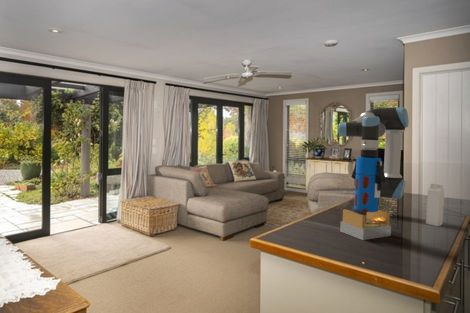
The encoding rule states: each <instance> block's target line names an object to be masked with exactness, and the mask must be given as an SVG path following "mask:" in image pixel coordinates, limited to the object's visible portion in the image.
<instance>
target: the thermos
mask: <svg viewBox="0 0 470 313" xmlns="http://www.w3.org/2000/svg"><path fill="white" fill-rule="evenodd" d="M356 159H357V160H356ZM356 159H355V164H356V179H355V180H354V184H355V185H354V201H353V202H354V203H353V204H354V205H353V206H354V209H355V210H358V211H363V212H378V209H379V207H380V197H379V198H375V197H374V196H375V183H376V180H375V176H374V175H379V174H378V170H377V165H376V164H377V161H382V158H381V157H377V158H365V157H361V156H357V157H356Z"/></svg>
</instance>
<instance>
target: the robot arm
mask: <svg viewBox="0 0 470 313" xmlns="http://www.w3.org/2000/svg"><path fill="white" fill-rule="evenodd" d="M408 113H409V112H408V111H407V108H406V107H398V106H395V107H394V106H393V107H377V108H373V109H370V110H369V109H368V110H366V111H364V112H363V113H361V114H360V115H359V117H357V118H354V119H353V120H350V121H348V122H347V121H343V122H340V123H338V126H337V133H338V134H337V135H339V137H344V138H349V137H350V138H352V137H353V138H354V137H355V138H356V137H357V138H358V137H359V138H361V141H360V142H361V144H360V145H361V146H360V148H361V150H360V157H365V158H379V150H378V149H379V139H380V138H382V137H383V136H384V135H385V139H384V142H385V143H384V161H382V160H381V161H377V164H376V165H377V170H378V174H379V175H374V176H375V180H376V183H375V196H374V197H375V198H379V199H380V198H386V199H392V200H400V199H401V198H402V197H403V195H404V191H405V187H406V180H404V179H403V176H402V174H401V158H402V156H401V154H402V153H401V152H402V138H403V137H402V136H403V133H404V132H406V129H407V128H409V120H410V119H409V114H408ZM356 160H357V158H356V159H355V161H356ZM351 178H352V179H354V181H355V179H356V163H355V164H354V168H353V171H352V173H351ZM353 185H354V186H355V183H354V184H353ZM352 211H353V212H357V213H360V214H363V215H367V212H363V211H358V210H355V209H354V205H353V206H352Z"/></svg>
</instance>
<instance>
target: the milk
mask: <svg viewBox="0 0 470 313" xmlns="http://www.w3.org/2000/svg"><path fill="white" fill-rule="evenodd" d="M443 187H444V186H443V184H434V183H430V186H429V188H428V189H427V200H426V215H425V224H426V225H430V226H434V227H440V226H442V225H443V217H444V203H445V202H444V201H445V189H444V188H443Z"/></svg>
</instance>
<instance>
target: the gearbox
mask: <svg viewBox="0 0 470 313" xmlns="http://www.w3.org/2000/svg"><path fill="white" fill-rule="evenodd" d="M390 213H391V212H390V211H387V210H381V209H379V208H378V212H367V214H362V213H357V212H354V211H353V210H349V209H346V208H345V209H343V210H342V220H340V226H339V227H340V229H339V230H340V231H339V232H341V233H344V234H347V235H349V236H352V237H354V238H356V239H358V240H359V239H360V240H362V241H366V240H372V239H378V238H379V239H380V238H385V237H391V236H392V235H391V234H392V225H391V224H390V218H391V217H390V216H391V214H390Z"/></svg>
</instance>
